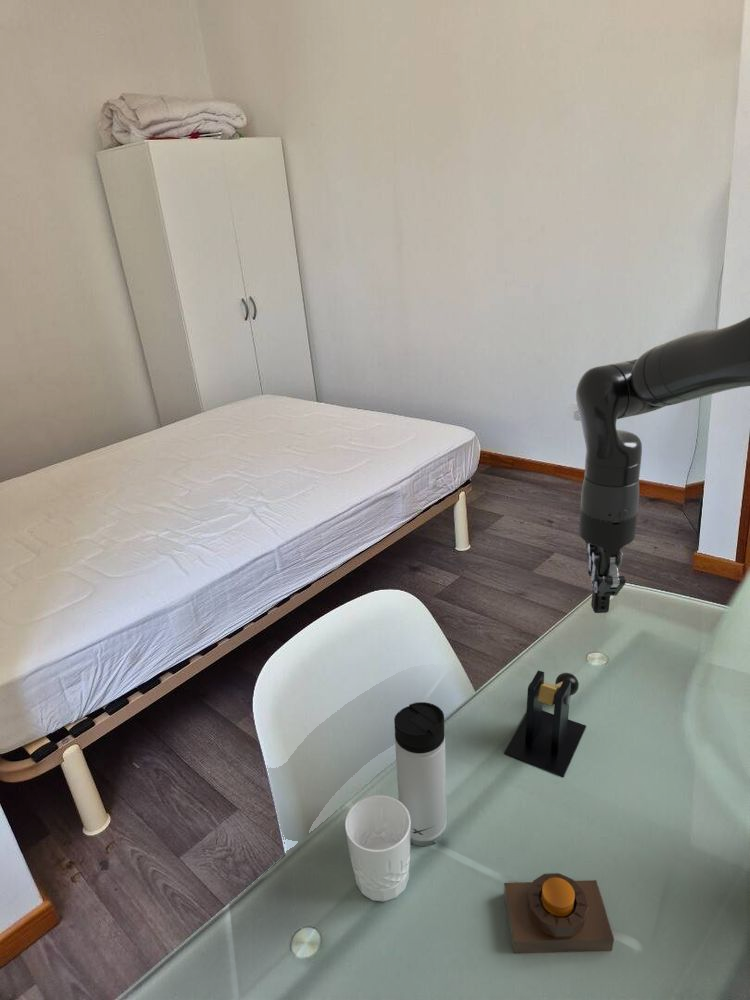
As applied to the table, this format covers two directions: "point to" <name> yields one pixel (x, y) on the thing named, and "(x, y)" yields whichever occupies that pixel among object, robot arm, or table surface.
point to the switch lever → (556, 688)
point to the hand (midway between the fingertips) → (599, 610)
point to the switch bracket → (546, 731)
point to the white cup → (379, 846)
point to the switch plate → (557, 919)
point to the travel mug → (422, 770)
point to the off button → (558, 897)
